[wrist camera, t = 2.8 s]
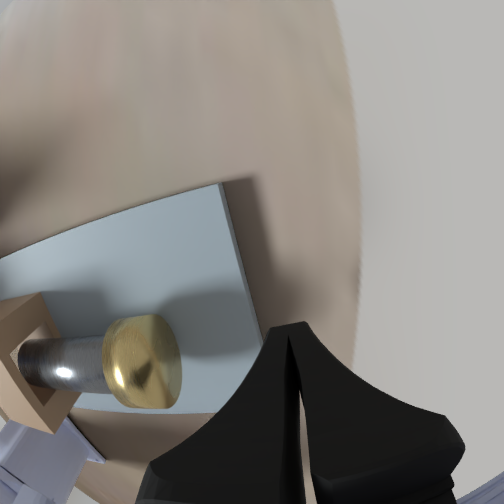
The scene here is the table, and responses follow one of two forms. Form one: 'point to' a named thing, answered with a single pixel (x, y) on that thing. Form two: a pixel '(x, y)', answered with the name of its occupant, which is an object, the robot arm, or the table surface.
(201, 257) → the mounting board
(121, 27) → the table surface
